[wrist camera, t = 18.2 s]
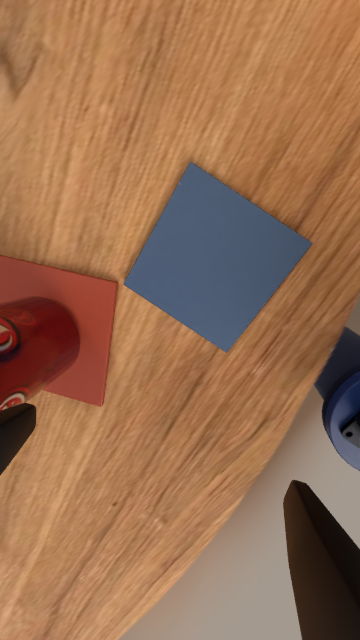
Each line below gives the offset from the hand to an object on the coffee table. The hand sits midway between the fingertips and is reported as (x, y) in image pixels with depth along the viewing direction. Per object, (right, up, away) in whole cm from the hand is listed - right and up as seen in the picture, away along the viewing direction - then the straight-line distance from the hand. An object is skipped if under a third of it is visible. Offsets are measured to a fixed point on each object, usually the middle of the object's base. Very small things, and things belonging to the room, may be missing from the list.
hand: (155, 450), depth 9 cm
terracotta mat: (-11, +3, +15) cm, 19 cm away
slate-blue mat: (+3, +9, +11) cm, 14 cm away
